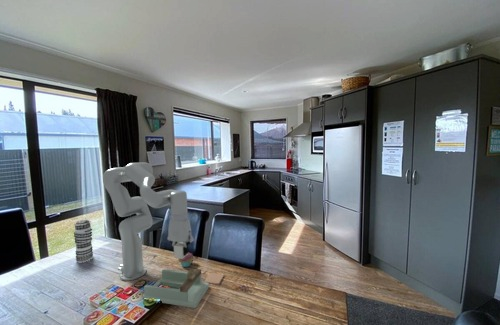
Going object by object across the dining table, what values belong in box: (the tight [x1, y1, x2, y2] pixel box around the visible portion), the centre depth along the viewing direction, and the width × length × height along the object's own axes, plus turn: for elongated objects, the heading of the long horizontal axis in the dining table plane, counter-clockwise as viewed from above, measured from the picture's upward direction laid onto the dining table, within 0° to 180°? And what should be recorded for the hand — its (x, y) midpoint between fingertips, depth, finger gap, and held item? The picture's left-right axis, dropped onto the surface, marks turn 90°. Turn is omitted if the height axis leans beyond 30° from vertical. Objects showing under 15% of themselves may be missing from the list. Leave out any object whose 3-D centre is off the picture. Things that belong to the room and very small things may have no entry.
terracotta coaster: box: [203, 272, 225, 286], centre depth 109 cm, size 8×8×1 cm
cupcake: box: [177, 252, 194, 268], centre depth 124 cm, size 9×8×12 cm
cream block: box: [173, 242, 188, 259], centre depth 101 cm, size 4×4×6 cm
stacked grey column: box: [73, 219, 94, 264], centre depth 132 cm, size 9×9×25 cm
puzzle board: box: [142, 269, 210, 309], centre depth 98 cm, size 26×14×7 cm, turn 78°
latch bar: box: [180, 268, 202, 292], centre depth 96 cm, size 3×14×5 cm, turn 168°
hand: (181, 253), depth 101 cm, fingers closed on cream block, 4 cm apart
